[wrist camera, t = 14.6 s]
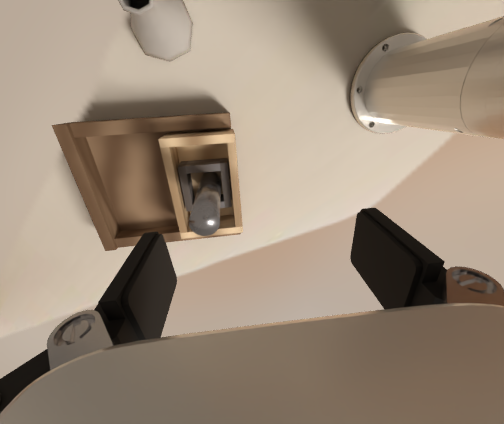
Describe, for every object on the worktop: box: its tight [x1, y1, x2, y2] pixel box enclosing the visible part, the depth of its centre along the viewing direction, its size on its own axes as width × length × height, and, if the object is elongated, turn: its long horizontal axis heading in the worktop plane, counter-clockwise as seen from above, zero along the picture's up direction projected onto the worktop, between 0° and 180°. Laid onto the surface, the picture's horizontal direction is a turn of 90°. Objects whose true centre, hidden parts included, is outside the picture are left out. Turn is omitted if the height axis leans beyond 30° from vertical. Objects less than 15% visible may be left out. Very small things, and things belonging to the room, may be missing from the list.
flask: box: [118, 0, 193, 61], centre depth 22 cm, size 7×7×10 cm
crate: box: [158, 129, 243, 239], centre depth 32 cm, size 9×14×5 cm, turn 3°
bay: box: [52, 112, 241, 251], centre depth 33 cm, size 21×18×4 cm
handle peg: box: [189, 172, 221, 236], centre depth 28 cm, size 3×3×13 cm
